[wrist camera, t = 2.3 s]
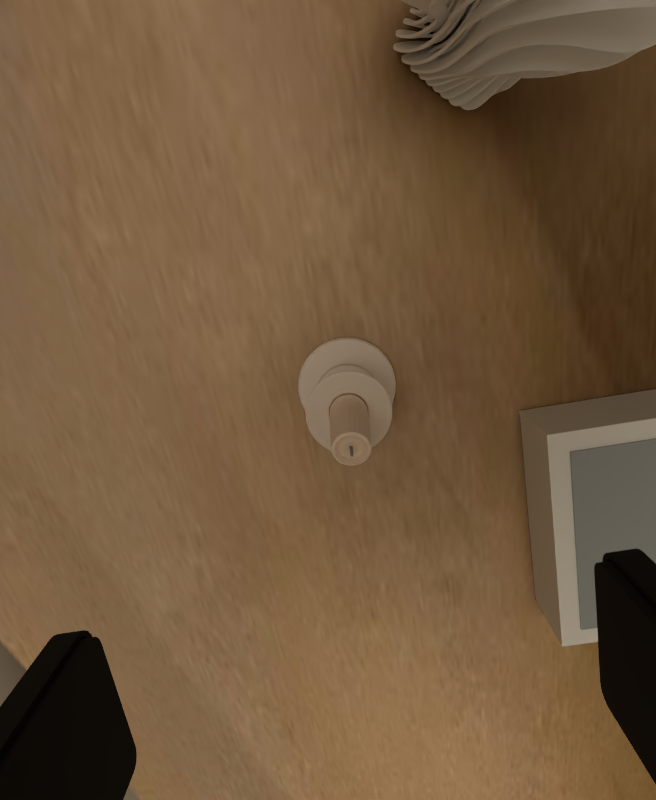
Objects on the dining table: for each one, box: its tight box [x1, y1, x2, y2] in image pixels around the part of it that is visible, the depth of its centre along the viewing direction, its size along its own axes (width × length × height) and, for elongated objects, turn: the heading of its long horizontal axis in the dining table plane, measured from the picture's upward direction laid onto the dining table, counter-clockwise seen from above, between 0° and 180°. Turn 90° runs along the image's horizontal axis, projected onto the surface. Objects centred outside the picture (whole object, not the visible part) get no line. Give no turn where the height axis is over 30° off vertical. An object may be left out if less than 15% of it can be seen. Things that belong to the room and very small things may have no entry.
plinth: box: [519, 389, 656, 646], centre depth 28 cm, size 12×12×4 cm
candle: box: [298, 337, 396, 466], centre depth 24 cm, size 5×5×10 cm
